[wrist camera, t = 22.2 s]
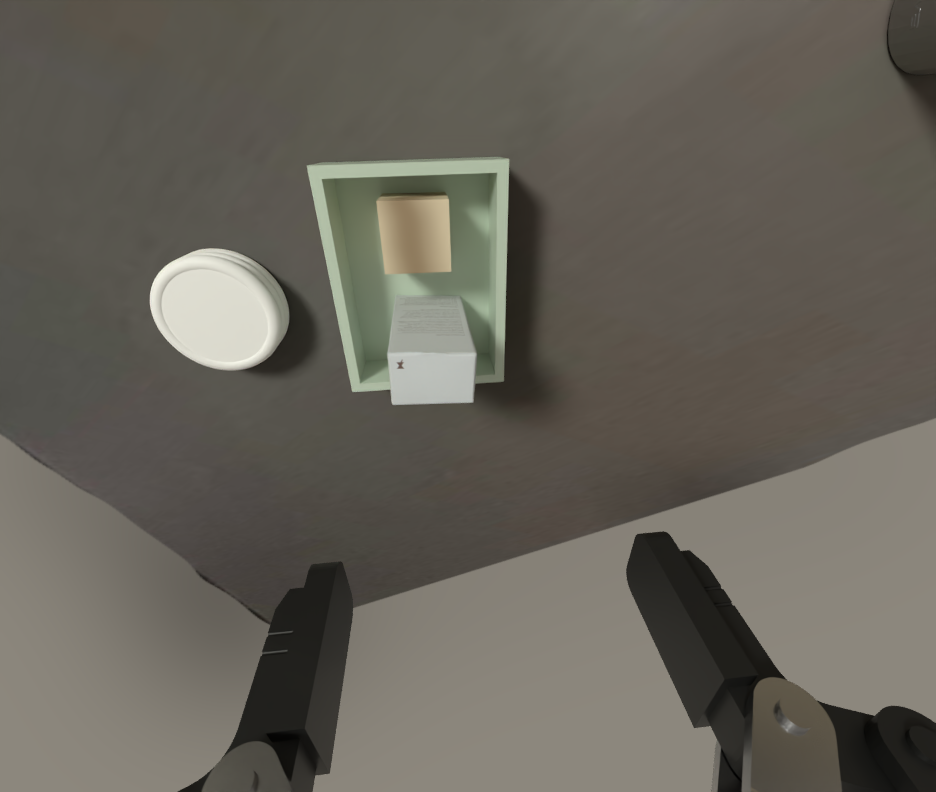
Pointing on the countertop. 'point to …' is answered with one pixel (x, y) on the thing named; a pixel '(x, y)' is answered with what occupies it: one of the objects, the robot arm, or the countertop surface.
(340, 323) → the tote
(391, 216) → the maple cube
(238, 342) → the white round ribbed disc
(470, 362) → the skincare box
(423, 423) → the countertop surface
